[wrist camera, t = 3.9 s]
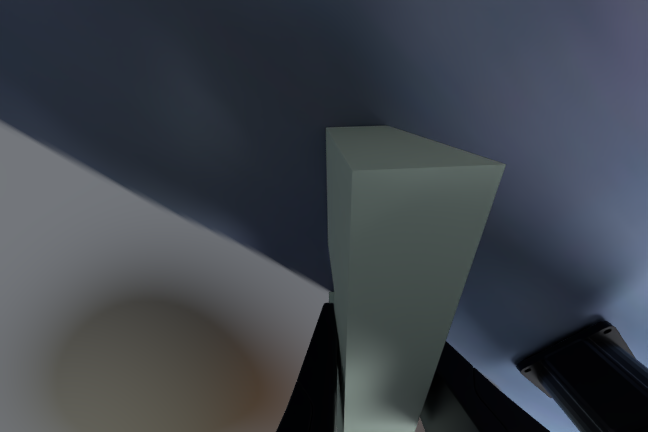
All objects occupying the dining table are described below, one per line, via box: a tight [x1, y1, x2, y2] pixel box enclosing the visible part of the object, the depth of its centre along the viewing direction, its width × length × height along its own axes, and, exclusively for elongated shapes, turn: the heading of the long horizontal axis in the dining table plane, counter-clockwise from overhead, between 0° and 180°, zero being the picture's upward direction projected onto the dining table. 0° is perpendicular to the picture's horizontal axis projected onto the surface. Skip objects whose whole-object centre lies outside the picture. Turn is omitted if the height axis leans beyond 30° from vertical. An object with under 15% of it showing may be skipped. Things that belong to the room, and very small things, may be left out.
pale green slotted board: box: [326, 126, 506, 432], centre depth 9 cm, size 14×2×6 cm, turn 1°
